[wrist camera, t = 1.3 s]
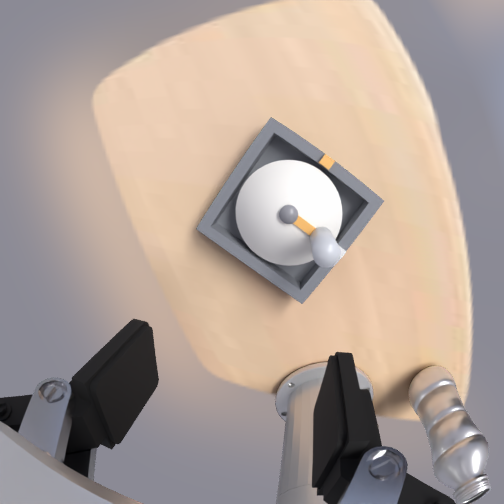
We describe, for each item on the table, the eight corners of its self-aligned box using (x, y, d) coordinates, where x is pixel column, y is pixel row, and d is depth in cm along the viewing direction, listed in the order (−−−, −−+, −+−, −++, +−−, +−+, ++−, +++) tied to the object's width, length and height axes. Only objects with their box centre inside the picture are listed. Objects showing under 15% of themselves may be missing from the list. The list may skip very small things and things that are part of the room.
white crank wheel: (221, 222, 27) (197, 238, 21) (276, 141, 24) (269, 130, 18) (299, 277, 27) (299, 309, 21) (358, 201, 25) (378, 211, 18)
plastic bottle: (401, 400, 31) (433, 521, 12) (408, 363, 30) (459, 496, 11) (440, 391, 30) (485, 500, 11) (451, 354, 28) (515, 468, 9)
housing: (375, 197, 26) (385, 201, 22) (302, 291, 29) (302, 306, 26) (273, 122, 25) (270, 115, 22) (206, 223, 29) (194, 230, 26)
